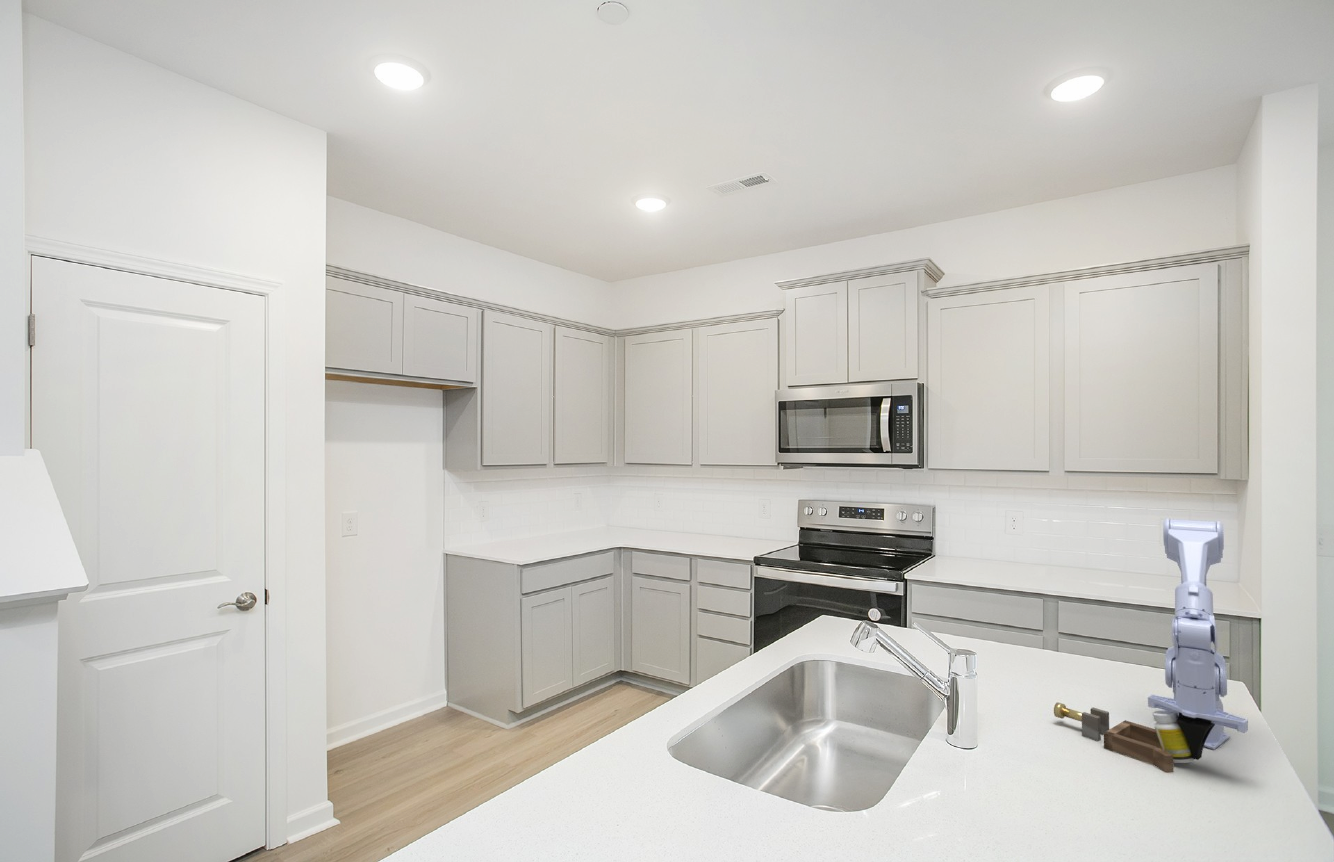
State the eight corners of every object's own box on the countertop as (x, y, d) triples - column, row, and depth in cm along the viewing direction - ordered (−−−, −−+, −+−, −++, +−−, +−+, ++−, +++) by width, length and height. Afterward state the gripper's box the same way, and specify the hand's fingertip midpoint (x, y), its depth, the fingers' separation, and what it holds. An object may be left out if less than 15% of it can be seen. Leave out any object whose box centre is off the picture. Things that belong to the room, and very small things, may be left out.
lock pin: (1060, 714, 144) (1060, 701, 144) (1097, 726, 138) (1097, 712, 138) (1053, 718, 142) (1053, 704, 142) (1090, 730, 136) (1090, 715, 136)
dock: (1101, 724, 142) (1101, 703, 142) (1196, 754, 128) (1195, 730, 128) (1073, 741, 134) (1072, 718, 134) (1170, 774, 121) (1170, 748, 121)
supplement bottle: (1201, 761, 122) (1185, 713, 124) (1174, 765, 123) (1158, 717, 125) (1186, 754, 127) (1170, 708, 129) (1160, 758, 127) (1144, 712, 129)
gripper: (1141, 677, 127) (1142, 749, 126) (1238, 701, 115) (1240, 780, 115) (1155, 669, 131) (1156, 739, 130) (1251, 692, 119) (1252, 768, 119)
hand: (1196, 757), depth 123 cm, fingers closed
